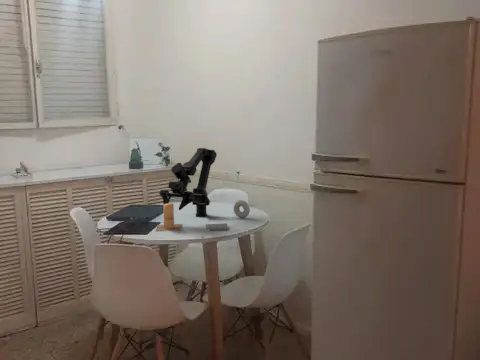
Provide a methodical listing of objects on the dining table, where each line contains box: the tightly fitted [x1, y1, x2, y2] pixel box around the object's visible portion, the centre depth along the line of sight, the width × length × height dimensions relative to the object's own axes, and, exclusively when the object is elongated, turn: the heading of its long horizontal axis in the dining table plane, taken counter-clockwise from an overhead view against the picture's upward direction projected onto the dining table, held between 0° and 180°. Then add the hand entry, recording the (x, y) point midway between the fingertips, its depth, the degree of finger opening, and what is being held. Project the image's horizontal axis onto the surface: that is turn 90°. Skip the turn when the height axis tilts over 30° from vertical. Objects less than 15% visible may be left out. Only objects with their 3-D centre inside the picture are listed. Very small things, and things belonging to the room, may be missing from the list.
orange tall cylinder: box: [162, 202, 175, 229], centre depth 250 cm, size 5×5×12 cm
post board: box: [155, 223, 183, 232], centre depth 251 cm, size 13×13×4 cm
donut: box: [233, 199, 251, 219], centre depth 274 cm, size 10×4×10 cm, turn 58°
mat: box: [205, 223, 229, 232], centre depth 252 cm, size 11×11×1 cm
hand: (171, 209), depth 252 cm, fingers open, 9 cm apart
